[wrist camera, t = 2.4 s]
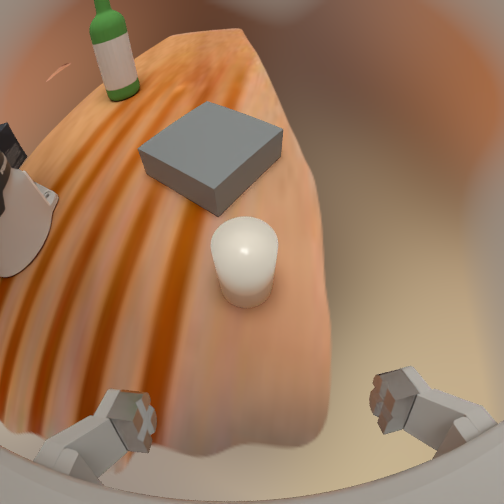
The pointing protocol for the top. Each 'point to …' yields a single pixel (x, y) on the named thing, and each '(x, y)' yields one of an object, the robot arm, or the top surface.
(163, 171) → the plinth
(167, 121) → the top surface
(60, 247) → the top surface
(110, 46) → the wine bottle
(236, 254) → the cylinder
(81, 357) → the top surface
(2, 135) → the small box
